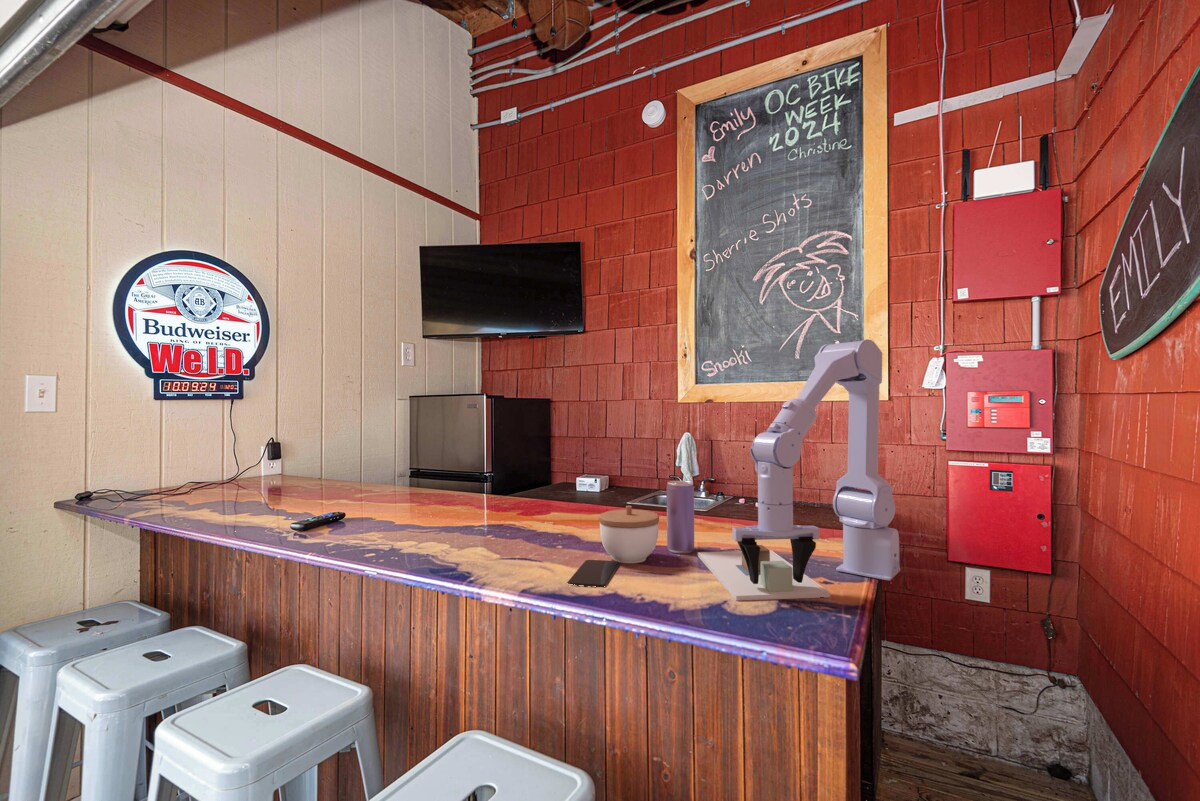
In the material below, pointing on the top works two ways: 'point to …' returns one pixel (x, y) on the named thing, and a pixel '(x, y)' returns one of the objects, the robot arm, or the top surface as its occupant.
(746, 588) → the white flat panel
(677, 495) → the beverage can
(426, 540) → the top surface
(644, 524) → the lidded bowl
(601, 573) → the smartphone
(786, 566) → the sage block
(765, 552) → the walnut block
